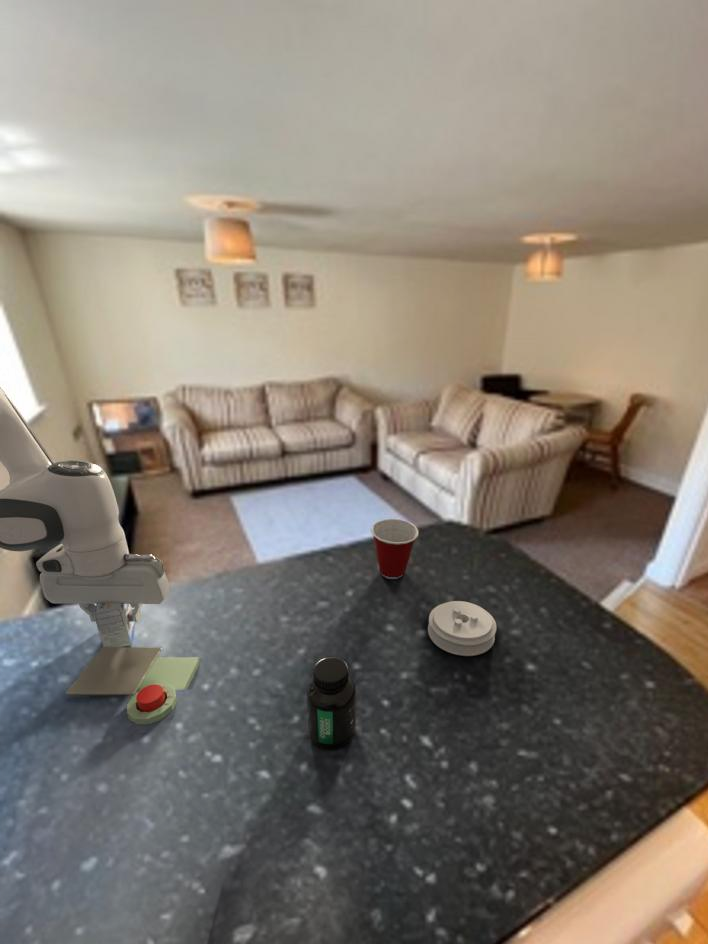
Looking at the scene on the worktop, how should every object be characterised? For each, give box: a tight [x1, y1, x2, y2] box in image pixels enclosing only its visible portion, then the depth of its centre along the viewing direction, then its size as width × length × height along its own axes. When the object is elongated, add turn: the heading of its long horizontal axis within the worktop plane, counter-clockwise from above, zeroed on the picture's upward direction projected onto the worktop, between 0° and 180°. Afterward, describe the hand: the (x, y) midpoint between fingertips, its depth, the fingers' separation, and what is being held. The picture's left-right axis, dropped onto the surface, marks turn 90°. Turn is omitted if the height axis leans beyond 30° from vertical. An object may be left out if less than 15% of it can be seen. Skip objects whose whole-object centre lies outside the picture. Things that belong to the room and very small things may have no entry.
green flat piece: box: [126, 656, 201, 725], centre depth 70 cm, size 16×14×3 cm
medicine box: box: [93, 603, 136, 647], centre depth 82 cm, size 8×4×9 cm, turn 22°
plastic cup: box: [370, 518, 419, 577], centre depth 103 cm, size 11×11×12 cm
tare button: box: [136, 684, 166, 712], centre depth 66 cm, size 4×4×2 cm
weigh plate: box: [65, 646, 163, 696], centre depth 72 cm, size 10×10×1 cm
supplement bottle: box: [306, 656, 357, 751], centre depth 64 cm, size 7×7×12 cm
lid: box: [427, 600, 497, 657], centre depth 85 cm, size 13×13×5 cm
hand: (116, 619), depth 82 cm, fingers closed on medicine box, 5 cm apart
